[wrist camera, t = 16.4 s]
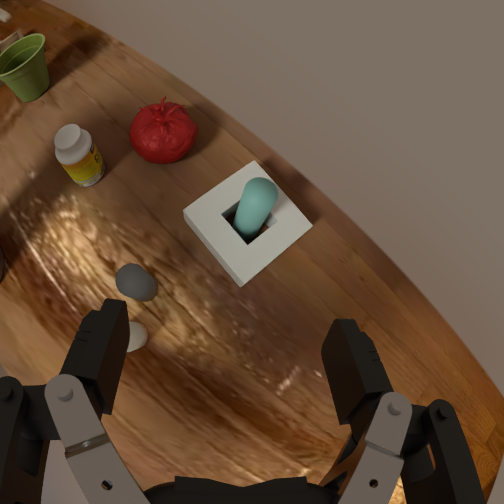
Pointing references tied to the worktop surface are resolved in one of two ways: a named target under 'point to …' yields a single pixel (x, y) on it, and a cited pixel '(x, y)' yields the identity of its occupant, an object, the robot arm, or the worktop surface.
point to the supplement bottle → (79, 155)
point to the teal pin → (254, 206)
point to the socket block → (225, 237)
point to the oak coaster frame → (8, 42)
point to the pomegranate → (162, 132)
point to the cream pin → (137, 336)
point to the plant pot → (25, 67)
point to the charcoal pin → (136, 283)
